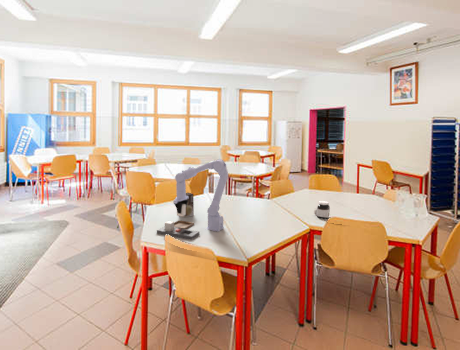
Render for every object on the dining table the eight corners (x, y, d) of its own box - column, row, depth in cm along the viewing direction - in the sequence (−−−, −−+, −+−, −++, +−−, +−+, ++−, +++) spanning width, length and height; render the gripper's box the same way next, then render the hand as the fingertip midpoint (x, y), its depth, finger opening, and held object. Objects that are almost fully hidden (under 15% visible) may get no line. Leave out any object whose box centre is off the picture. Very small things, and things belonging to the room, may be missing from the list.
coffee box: (187, 213, 221) (187, 192, 219) (194, 215, 217) (193, 193, 215) (178, 216, 214) (178, 194, 212) (184, 218, 210) (184, 195, 208)
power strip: (199, 235, 177) (199, 230, 177) (191, 240, 169) (191, 235, 168) (165, 229, 187) (165, 224, 186) (156, 234, 178) (156, 228, 178)
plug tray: (194, 225, 195) (194, 222, 195) (184, 231, 184) (184, 228, 184) (178, 222, 200) (178, 220, 199) (168, 228, 189) (168, 225, 189)
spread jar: (325, 220, 210) (326, 204, 208) (310, 217, 217) (311, 201, 215) (331, 216, 219) (332, 201, 217) (316, 213, 226) (317, 198, 224)
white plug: (185, 214, 191) (185, 204, 190) (182, 216, 188) (182, 205, 187) (180, 213, 193) (180, 203, 192) (176, 215, 189) (176, 204, 188)
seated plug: (174, 232, 181) (174, 221, 180) (170, 235, 178) (170, 223, 176) (168, 231, 183) (168, 220, 182) (164, 233, 179) (164, 222, 178)
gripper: (182, 188, 196) (182, 208, 198) (169, 192, 183) (169, 214, 185) (191, 189, 193) (191, 209, 195) (178, 194, 180) (179, 215, 182)
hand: (181, 212), depth 190 cm, fingers closed on white plug, 4 cm apart
